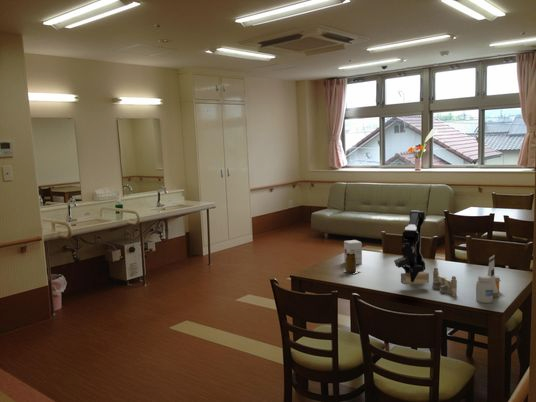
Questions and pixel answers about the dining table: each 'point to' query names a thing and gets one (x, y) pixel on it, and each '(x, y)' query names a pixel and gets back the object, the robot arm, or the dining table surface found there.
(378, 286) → the dining table surface
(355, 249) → the supplement box
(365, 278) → the dining table surface
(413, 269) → the robot arm
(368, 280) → the dining table surface
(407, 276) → the beige rectangular block
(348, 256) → the condiment
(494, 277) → the toiletry set
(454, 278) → the beige base with posts
